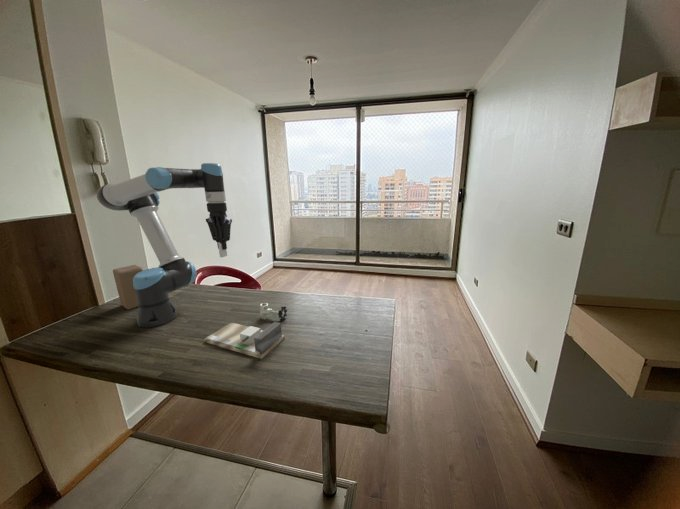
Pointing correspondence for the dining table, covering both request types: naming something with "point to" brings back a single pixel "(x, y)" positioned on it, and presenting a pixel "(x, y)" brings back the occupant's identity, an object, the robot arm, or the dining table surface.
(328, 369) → the dining table surface
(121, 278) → the wooden block
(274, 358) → the dining table surface
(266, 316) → the valve
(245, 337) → the white rectangular block
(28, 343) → the dining table surface
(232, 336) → the board
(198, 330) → the dining table surface
